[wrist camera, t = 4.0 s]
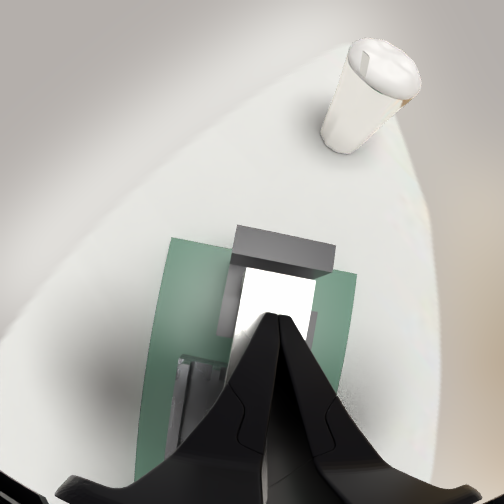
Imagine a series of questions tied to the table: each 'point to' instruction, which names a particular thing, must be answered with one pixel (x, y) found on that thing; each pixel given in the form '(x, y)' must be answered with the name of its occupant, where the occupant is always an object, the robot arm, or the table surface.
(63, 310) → the table surface
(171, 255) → the board
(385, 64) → the milkshake
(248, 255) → the lug block
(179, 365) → the heatsink
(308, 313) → the metal bar
